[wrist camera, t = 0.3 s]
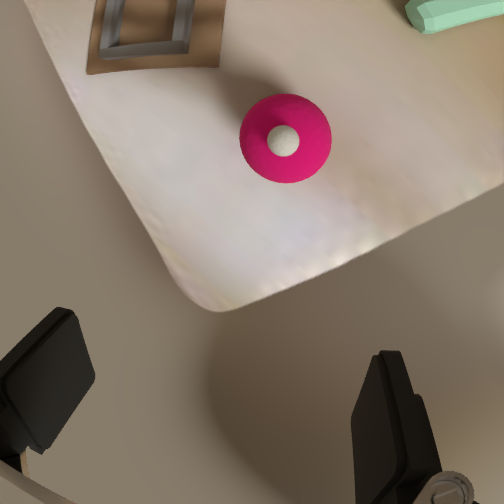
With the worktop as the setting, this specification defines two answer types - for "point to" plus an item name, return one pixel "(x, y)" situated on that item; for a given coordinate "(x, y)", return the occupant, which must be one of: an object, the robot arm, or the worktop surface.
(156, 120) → the worktop surface
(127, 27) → the socket board
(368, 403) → the robot arm
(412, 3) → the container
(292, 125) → the pepper mill
